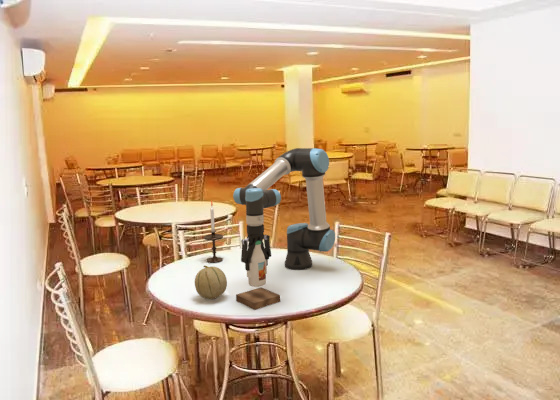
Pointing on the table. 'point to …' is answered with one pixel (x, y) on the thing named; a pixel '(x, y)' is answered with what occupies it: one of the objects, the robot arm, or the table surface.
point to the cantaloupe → (210, 282)
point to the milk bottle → (258, 266)
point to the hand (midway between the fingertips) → (257, 275)
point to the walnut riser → (258, 298)
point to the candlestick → (213, 239)
